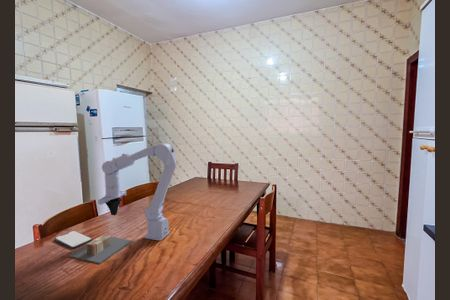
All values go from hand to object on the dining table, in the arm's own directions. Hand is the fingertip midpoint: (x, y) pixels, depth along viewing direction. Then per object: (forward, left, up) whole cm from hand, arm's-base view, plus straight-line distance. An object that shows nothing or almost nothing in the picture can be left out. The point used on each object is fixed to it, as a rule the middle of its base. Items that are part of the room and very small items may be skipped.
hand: (114, 214), depth 101 cm
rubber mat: (-4, +11, -10) cm, 15 cm away
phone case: (+15, +9, -11) cm, 21 cm away
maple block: (-4, +8, -8) cm, 12 cm away
